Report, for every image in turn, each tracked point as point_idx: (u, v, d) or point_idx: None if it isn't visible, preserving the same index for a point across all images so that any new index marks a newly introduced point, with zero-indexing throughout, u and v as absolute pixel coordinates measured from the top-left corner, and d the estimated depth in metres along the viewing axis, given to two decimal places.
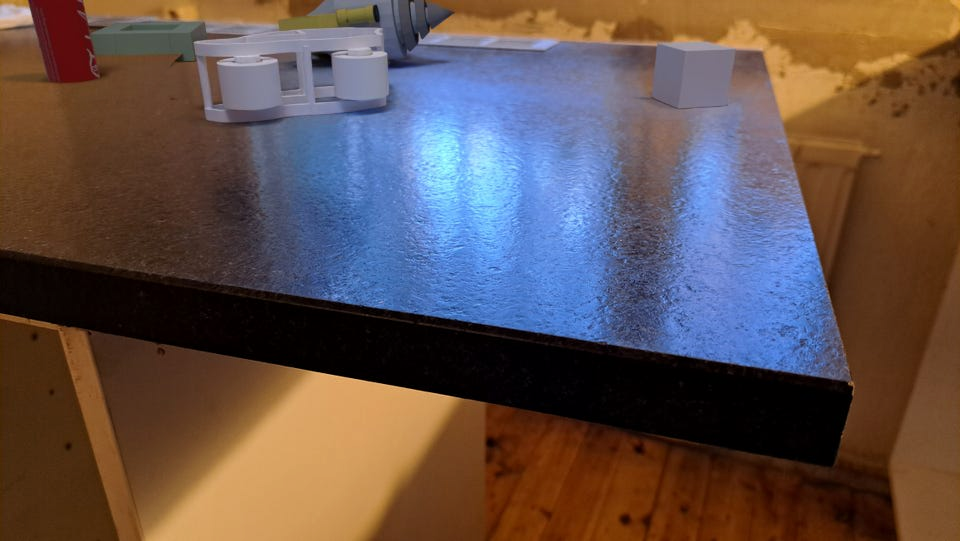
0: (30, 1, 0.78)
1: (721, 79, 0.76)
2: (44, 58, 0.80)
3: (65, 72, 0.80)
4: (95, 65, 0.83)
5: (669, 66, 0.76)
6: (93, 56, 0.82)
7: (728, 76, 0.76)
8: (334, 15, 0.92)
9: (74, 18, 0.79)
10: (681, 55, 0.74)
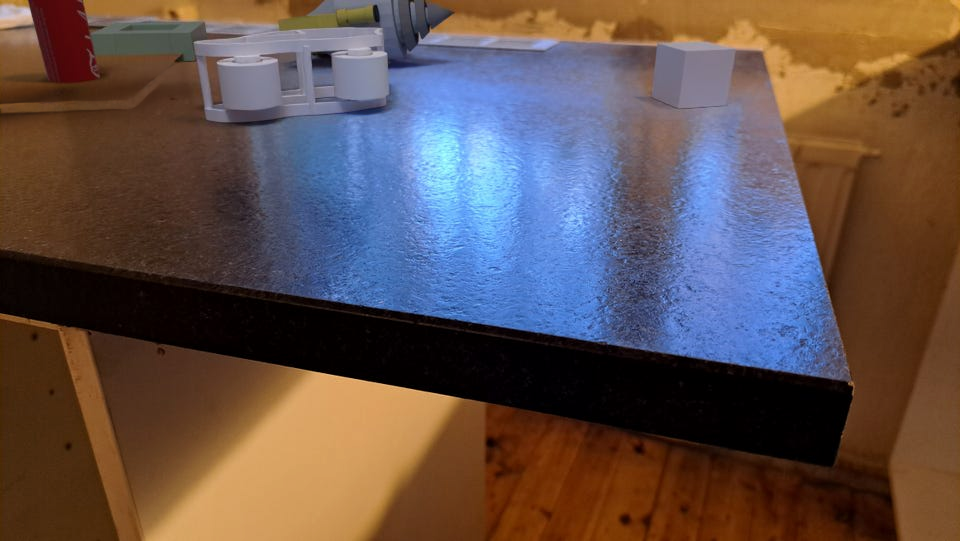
0: (30, 1, 0.78)
1: (721, 79, 0.76)
2: (44, 58, 0.80)
3: (65, 72, 0.80)
4: (95, 65, 0.83)
5: (669, 66, 0.76)
6: (93, 56, 0.82)
7: (728, 76, 0.76)
8: (334, 15, 0.92)
9: (74, 18, 0.79)
10: (681, 55, 0.74)
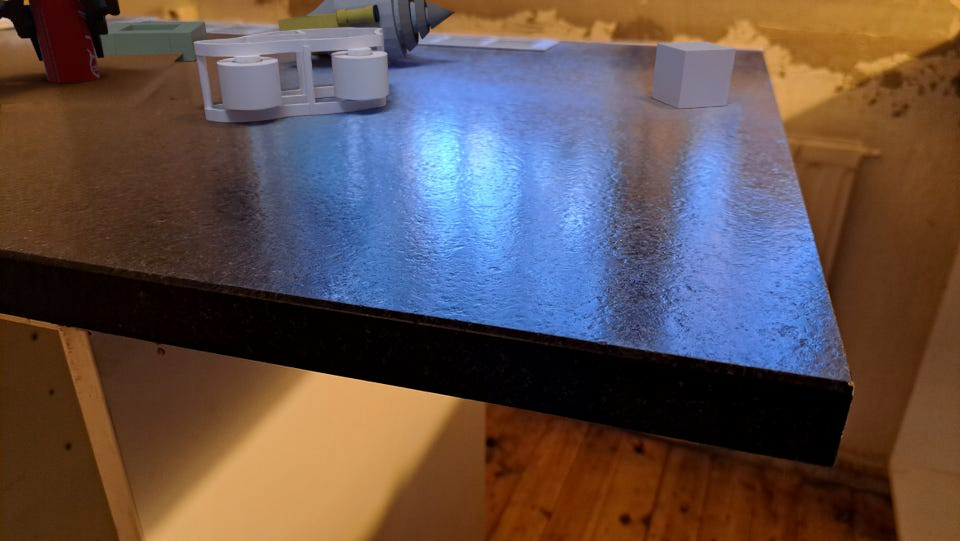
0: (30, 1, 0.78)
1: (721, 79, 0.76)
2: (44, 58, 0.80)
3: (65, 72, 0.80)
4: (95, 65, 0.83)
5: (669, 66, 0.76)
6: (93, 56, 0.82)
7: (728, 76, 0.76)
8: (334, 15, 0.92)
9: (74, 18, 0.79)
10: (681, 55, 0.74)
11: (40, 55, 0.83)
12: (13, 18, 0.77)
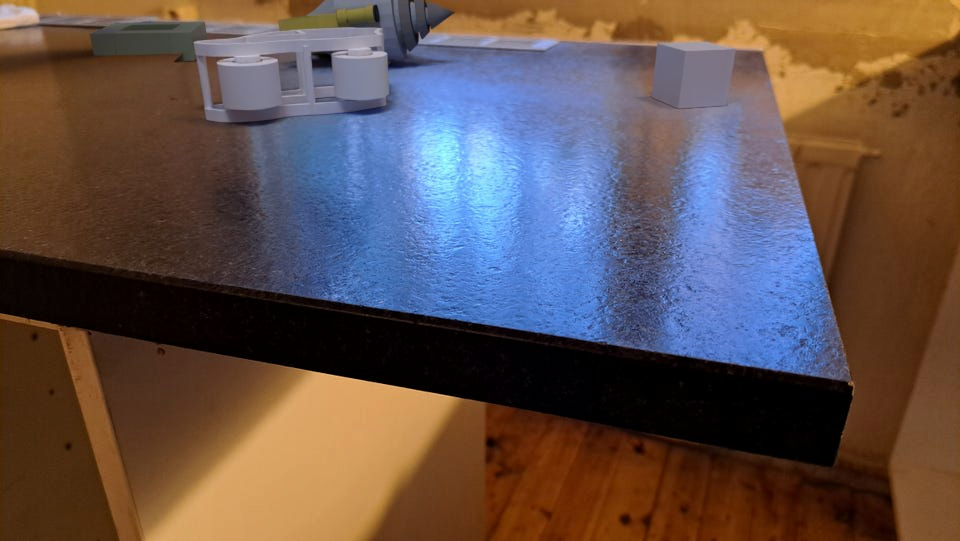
0: None
1: (721, 79, 0.76)
2: None
3: None
4: None
5: (669, 66, 0.76)
6: None
7: (728, 76, 0.76)
8: (334, 15, 0.92)
9: None
10: (681, 55, 0.74)
11: None
12: None
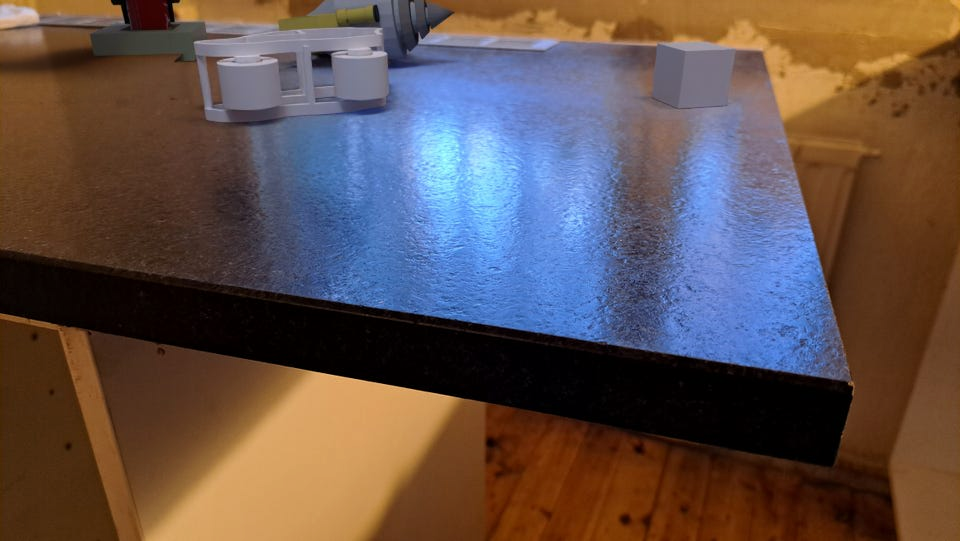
0: None
1: (721, 79, 0.76)
2: (131, 21, 1.02)
3: None
4: (170, 27, 1.04)
5: (669, 66, 0.76)
6: (169, 20, 1.04)
7: (728, 76, 0.76)
8: (334, 15, 0.92)
9: None
10: (681, 55, 0.74)
11: (126, 19, 1.04)
12: None
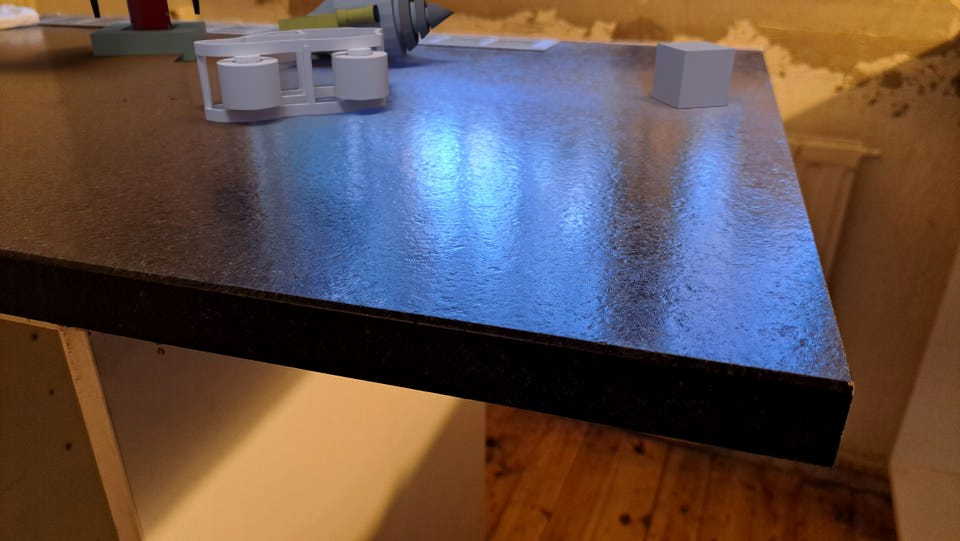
0: None
1: (721, 79, 0.76)
2: None
3: None
4: None
5: (669, 66, 0.76)
6: None
7: (728, 76, 0.76)
8: (334, 15, 0.92)
9: None
10: (681, 55, 0.74)
11: (96, 13, 1.01)
12: None
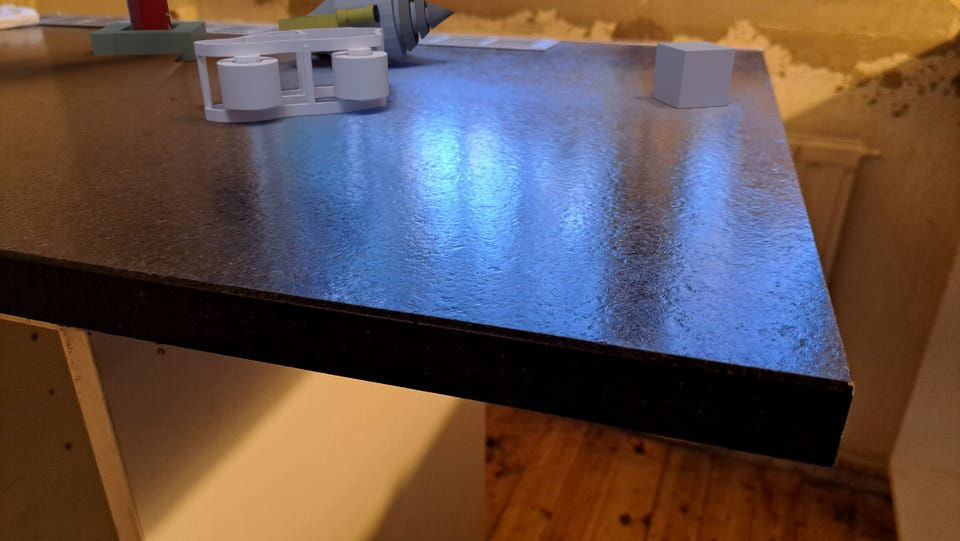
0: None
1: (721, 79, 0.76)
2: None
3: None
4: None
5: (669, 66, 0.76)
6: None
7: (728, 76, 0.76)
8: (334, 15, 0.92)
9: None
10: (681, 55, 0.74)
11: None
12: None
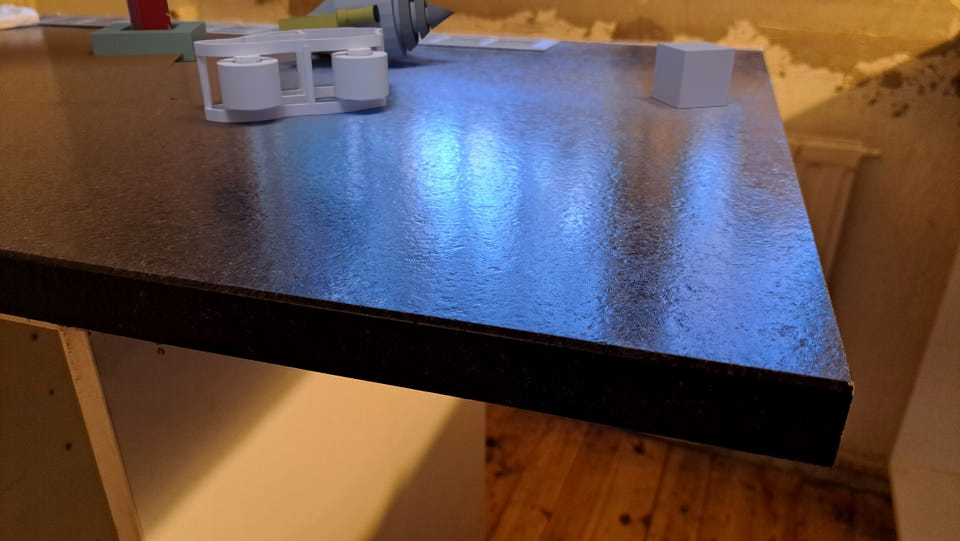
0: None
1: (721, 79, 0.76)
2: None
3: None
4: None
5: (669, 66, 0.76)
6: None
7: (728, 76, 0.76)
8: (334, 15, 0.92)
9: None
10: (681, 55, 0.74)
11: None
12: None
